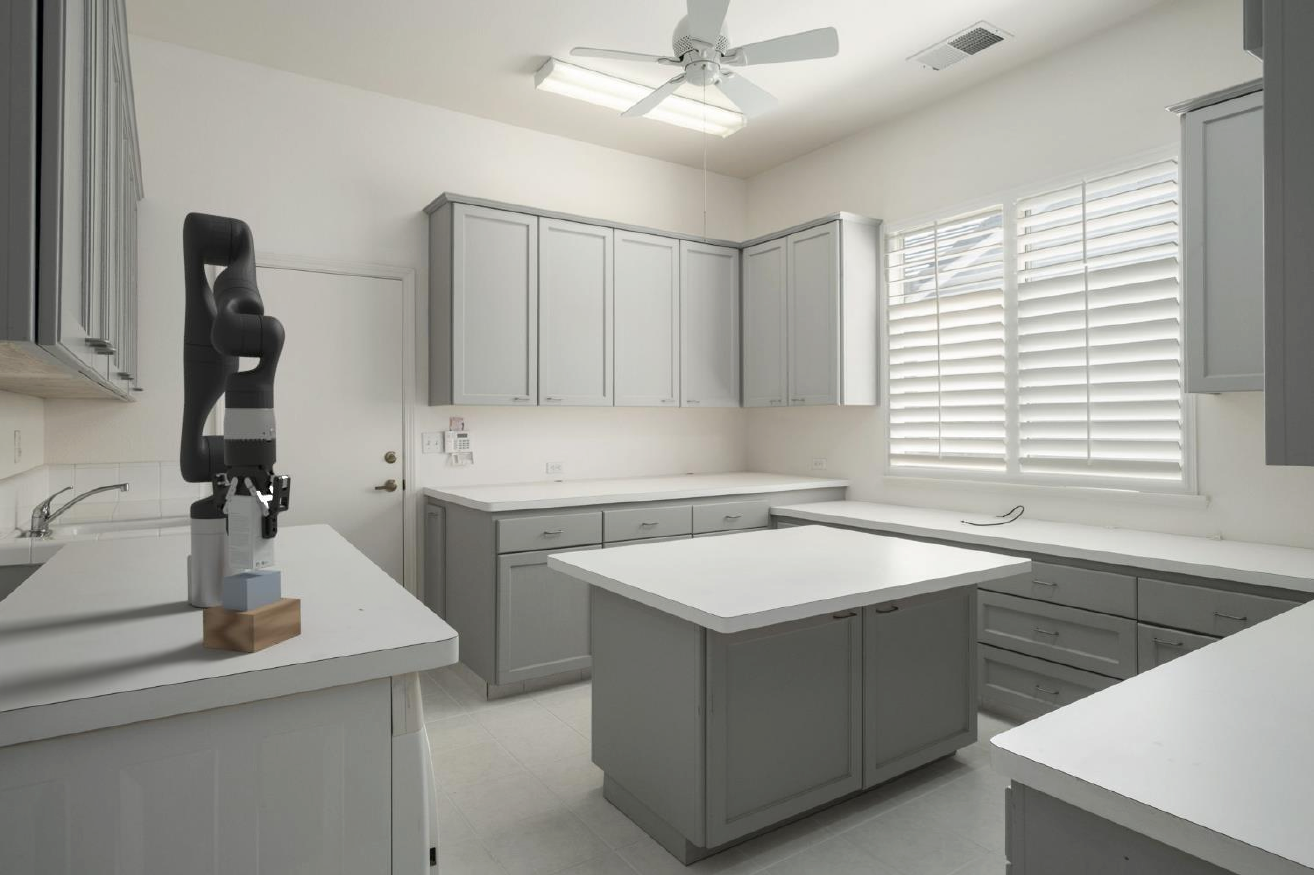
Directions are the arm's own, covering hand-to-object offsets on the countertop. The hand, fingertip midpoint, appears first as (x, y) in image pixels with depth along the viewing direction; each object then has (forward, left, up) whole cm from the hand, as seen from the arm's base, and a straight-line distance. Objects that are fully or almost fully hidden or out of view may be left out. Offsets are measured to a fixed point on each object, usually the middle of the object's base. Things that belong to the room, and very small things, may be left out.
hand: (251, 536), depth 120 cm
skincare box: (0, 0, -5) cm, 5 cm away
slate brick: (0, 0, -11) cm, 11 cm away
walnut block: (0, 0, -17) cm, 17 cm away
